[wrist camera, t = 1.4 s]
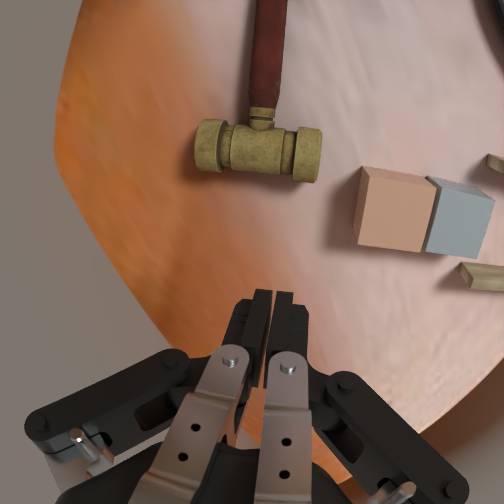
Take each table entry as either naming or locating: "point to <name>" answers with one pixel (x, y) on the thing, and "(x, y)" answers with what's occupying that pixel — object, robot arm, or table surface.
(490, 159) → the corral
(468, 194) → the blue-grey block
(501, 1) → the electronic game
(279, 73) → the gavel
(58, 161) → the table surface
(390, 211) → the peach wooden cube
